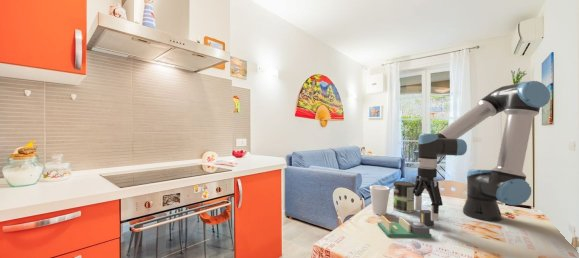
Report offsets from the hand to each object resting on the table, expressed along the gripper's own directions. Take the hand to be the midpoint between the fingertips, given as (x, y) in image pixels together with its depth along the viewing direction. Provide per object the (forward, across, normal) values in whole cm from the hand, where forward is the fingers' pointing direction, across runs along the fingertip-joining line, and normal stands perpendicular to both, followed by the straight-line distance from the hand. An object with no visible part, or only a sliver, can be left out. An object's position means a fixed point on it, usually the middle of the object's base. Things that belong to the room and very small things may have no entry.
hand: (425, 215), depth 110 cm
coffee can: (+4, -21, 0) cm, 21 cm away
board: (+5, +8, -13) cm, 16 cm away
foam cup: (+5, -15, -15) cm, 22 cm away
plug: (+4, 0, +1) cm, 4 cm away
